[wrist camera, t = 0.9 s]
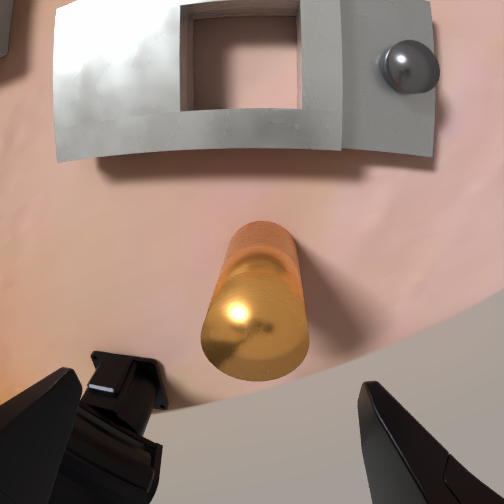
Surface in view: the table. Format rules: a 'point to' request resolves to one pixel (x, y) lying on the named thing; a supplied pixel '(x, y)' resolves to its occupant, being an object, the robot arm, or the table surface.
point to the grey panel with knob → (243, 120)
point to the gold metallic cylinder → (257, 307)
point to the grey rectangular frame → (5, 25)
